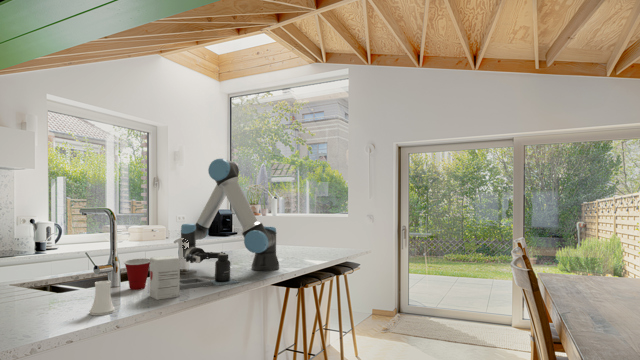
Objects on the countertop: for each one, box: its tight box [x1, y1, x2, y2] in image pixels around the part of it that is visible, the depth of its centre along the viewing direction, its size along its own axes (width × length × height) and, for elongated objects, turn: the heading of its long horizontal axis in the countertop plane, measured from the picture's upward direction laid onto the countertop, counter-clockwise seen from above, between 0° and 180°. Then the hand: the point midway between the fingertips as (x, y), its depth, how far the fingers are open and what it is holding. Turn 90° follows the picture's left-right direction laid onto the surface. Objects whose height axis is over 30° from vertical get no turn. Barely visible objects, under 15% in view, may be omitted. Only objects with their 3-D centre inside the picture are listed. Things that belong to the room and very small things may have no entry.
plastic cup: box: [123, 258, 150, 291], centre depth 174 cm, size 11×11×12 cm
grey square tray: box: [179, 276, 213, 290], centre depth 182 cm, size 14×14×2 cm
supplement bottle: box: [214, 253, 231, 282], centre depth 187 cm, size 7×7×12 cm
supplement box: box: [148, 255, 181, 301], centre depth 160 cm, size 9×9×15 cm
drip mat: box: [208, 278, 240, 287], centre depth 187 cm, size 11×11×1 cm
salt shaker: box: [88, 280, 116, 316], centre depth 136 cm, size 8×8×10 cm
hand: (213, 258), depth 195 cm, fingers open, 13 cm apart
